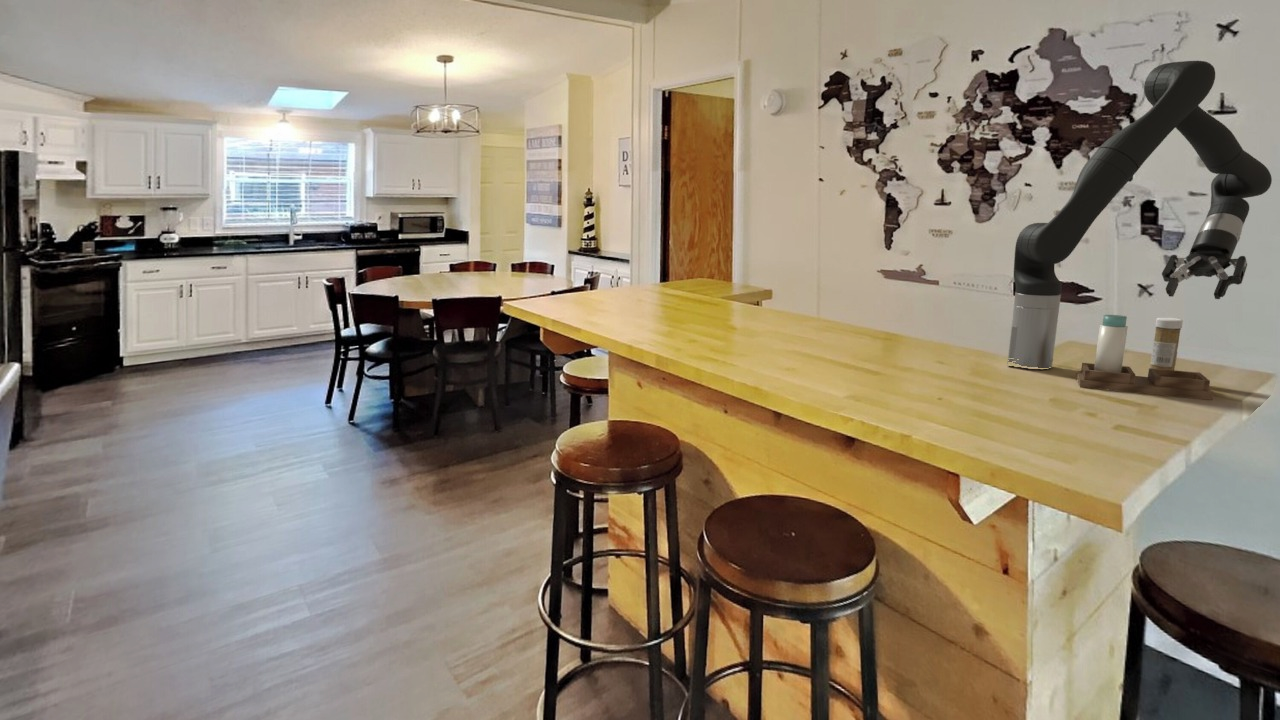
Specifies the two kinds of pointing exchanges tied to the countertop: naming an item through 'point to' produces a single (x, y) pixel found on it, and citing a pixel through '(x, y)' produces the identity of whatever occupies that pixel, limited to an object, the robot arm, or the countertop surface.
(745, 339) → the countertop surface
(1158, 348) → the sprinkles bottle
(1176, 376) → the pocket board
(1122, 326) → the bottle
